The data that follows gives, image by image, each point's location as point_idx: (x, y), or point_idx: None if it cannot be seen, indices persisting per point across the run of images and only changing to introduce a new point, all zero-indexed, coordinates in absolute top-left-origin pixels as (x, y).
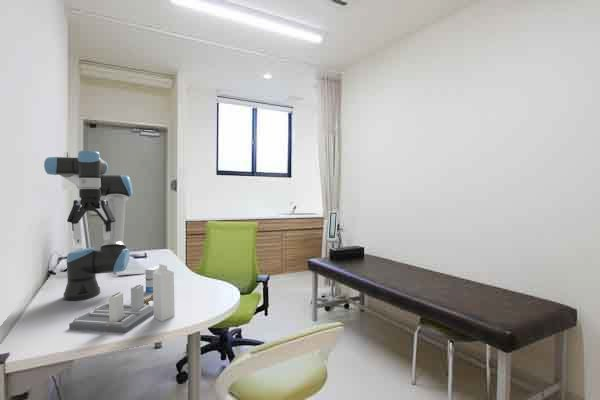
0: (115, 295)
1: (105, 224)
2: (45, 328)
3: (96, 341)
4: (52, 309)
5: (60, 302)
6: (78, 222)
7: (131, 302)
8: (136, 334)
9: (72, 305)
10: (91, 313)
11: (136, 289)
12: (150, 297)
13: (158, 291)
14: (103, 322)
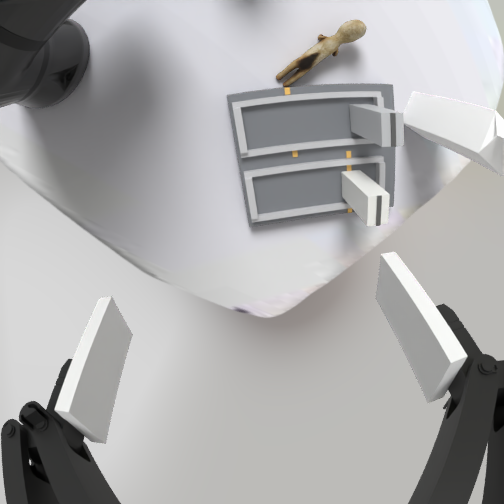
0: (381, 216)
1: (446, 387)
2: (190, 235)
3: (355, 243)
4: (80, 159)
5: (48, 121)
6: (50, 415)
7: (362, 136)
8: (409, 202)
9: (97, 118)
10: (256, 175)
11: (399, 145)
12: (343, 40)
13: (462, 153)
14: (337, 209)
